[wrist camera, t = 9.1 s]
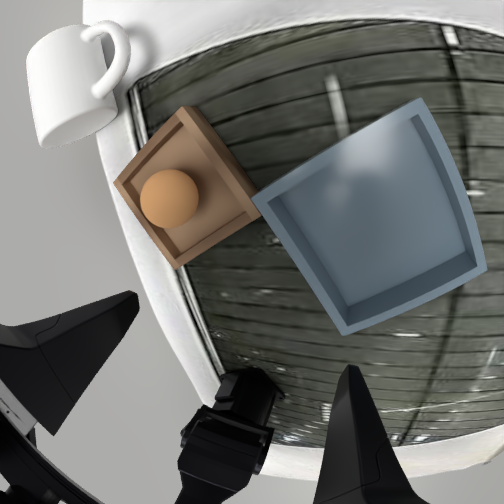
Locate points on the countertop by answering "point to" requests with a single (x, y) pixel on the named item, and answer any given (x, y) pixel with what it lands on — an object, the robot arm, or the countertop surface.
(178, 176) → the ball
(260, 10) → the countertop surface
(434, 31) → the countertop surface
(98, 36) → the mug
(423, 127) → the dish
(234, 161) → the tray
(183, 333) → the countertop surface
